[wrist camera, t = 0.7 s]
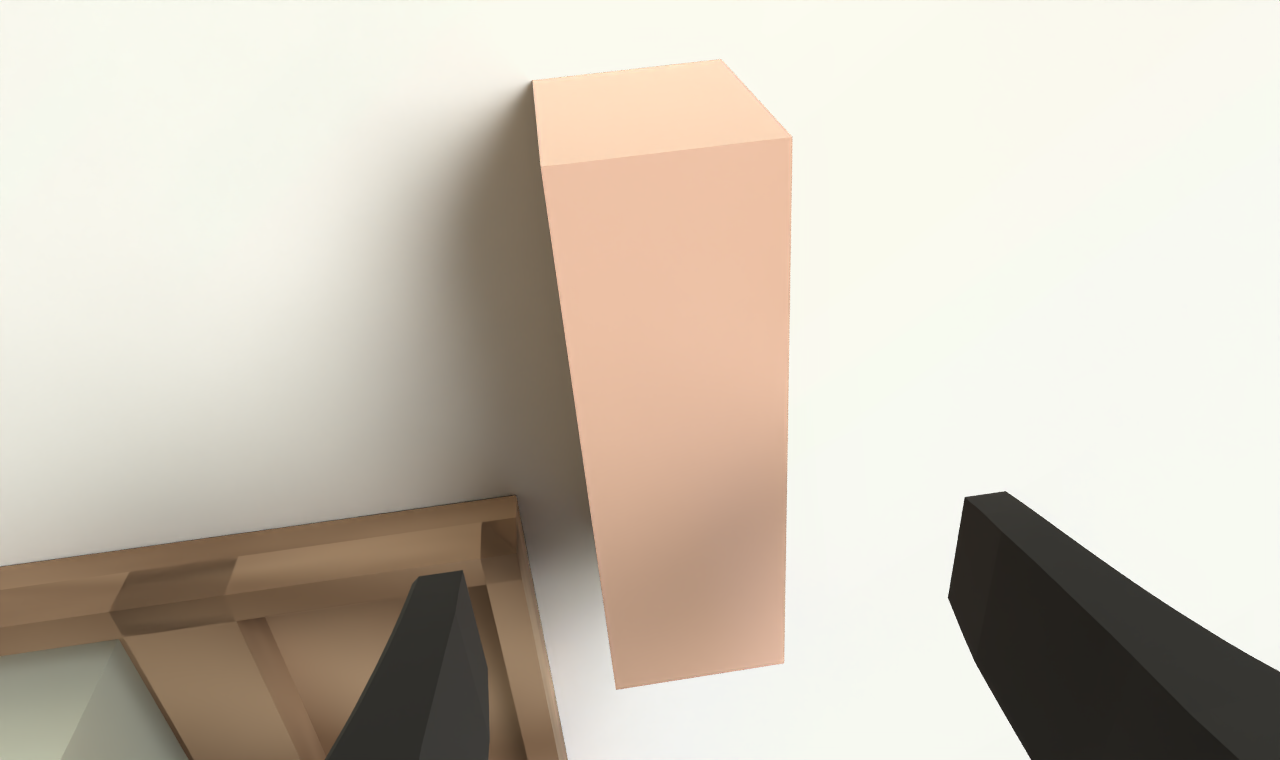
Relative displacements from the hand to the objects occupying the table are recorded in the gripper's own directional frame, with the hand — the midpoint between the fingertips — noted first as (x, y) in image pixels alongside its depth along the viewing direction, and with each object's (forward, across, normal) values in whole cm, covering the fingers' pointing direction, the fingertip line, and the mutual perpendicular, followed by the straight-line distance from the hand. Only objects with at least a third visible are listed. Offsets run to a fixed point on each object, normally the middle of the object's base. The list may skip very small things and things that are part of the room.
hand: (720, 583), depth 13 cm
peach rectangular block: (+8, 0, 0) cm, 8 cm away
